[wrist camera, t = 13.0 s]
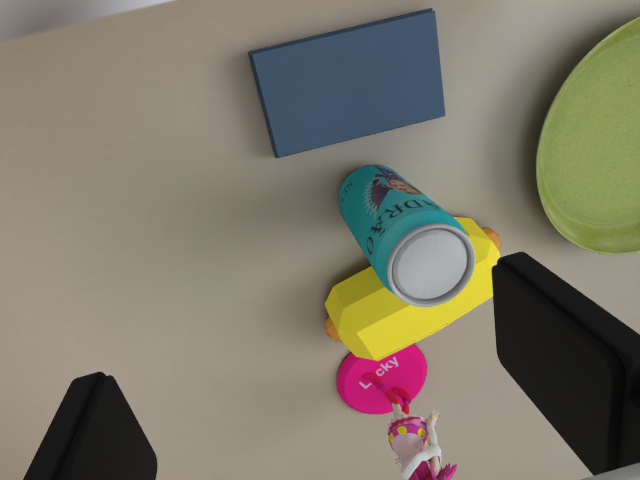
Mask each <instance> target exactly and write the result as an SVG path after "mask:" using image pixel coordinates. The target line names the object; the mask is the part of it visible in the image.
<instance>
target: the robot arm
mask: <svg viewBox="0 0 640 480" xmlns="http://www.w3.org/2000/svg"><path fill="white" fill-rule="evenodd" d="M492 287H493V302H494V317H495V332H496V348H497V355H498V358H499V360H500V362H501V364H502V366H503V367H504V368H505V369H506V371H507V372H508V373H509V374H510V375H511V377H512V378H513V379H514V380H515V381H516V383H517V384H518V385H519V386H520V387H521V389H522V390H523V391H524V392H525V393H526V395H527V396H528V397H529V398H530V399H531V401H532V402H533V403H534V404H535V405H536V407H537V408H538V409H539V410H540V411H541V413H542V414H543V415H544V416H545V418H546V419H547V420H548V421H549V422H550V424H551V425H552V426H553V427H554V428H555V430H556V431H557V432H558V433H559V434H560V436H561V437H562V438H563V439H564V440H565V442H566V443H567V444H568V445H569V446H570V448H571V449H572V450H573V451H574V452H575V454H576V455H577V456H578V457H579V458H580V460H581V461H582V462H583V463H584V464H585V466H586V467H587V468H588V469H589V471H590V472H591V473H592V474H593V475H594V476H592V477H588V478H585V479H582V480H640V335H639V334H638V333H637V332H635V331H634V330H632V329H631V328H630V327H628V326H627V325H625V324H624V323H623V322H621V321H620V320H618V319H617V318H616V317H614V316H613V315H611V314H610V313H609V312H607V311H606V310H604V309H603V308H602V307H600V306H599V305H597V304H596V303H595V302H593V301H592V300H590V299H589V298H588V297H586V296H585V295H583V294H582V293H581V292H579V291H578V290H576V289H575V288H574V287H572V286H571V285H569V284H568V283H567V282H565V281H564V280H562V279H561V278H560V277H558V276H557V275H556V274H554V273H553V272H551V271H550V270H549V269H547V268H546V267H544V266H543V265H542V264H540V263H539V262H537V261H536V260H535V259H533V258H532V257H530V256H529V255H528V254H526V253H524V252H518V253H514V254H511V255H507V256H504V257H500V258H499V259H498V261H497V265H494V266H493V267H492ZM156 474H157V458H156V455H155V452H154V451H153V449H152V447H151V445H150V443H149V441H148V439H147V438H146V436H145V434H144V432H143V430H142V428H141V426H140V425H139V423H138V421H137V419H136V417H135V415H134V414H133V412H132V410H131V408H130V406H129V404H128V402H127V401H126V399H125V397H124V395H123V393H122V391H121V389H120V388H119V386H118V384H117V382H116V380H115V379H114V377H113V376H110V375H109V376H106V375H105V374H104V373H103V372H97V373H93V374H90V375H86V376H83V377H79V378H76V379H74V380H73V381H72V382H71V384H70V386H69V388H68V390H67V392H66V394H65V396H64V398H63V400H62V402H61V404H60V406H59V408H58V410H57V412H56V414H55V416H54V418H53V420H52V422H51V424H50V426H49V429H48V431H47V433H46V435H45V437H44V439H43V441H42V443H41V445H40V447H39V449H38V451H37V453H36V455H35V457H34V459H33V461H32V463H31V465H30V467H29V469H28V471H27V473H26V475H25V477H24V479H23V480H155V479H156Z"/></svg>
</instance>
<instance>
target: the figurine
mask: <svg viewBox="0 0 640 480" xmlns="http://www.w3.org/2000/svg"><path fill="white" fill-rule="evenodd" d="M426 374H427V364H426V360H425V357H424V355H423V353H422V352H421V351H420V349H419V348H418V347H416V346H415V345H414V344H411V345H409V346H407V347H405V348H403V349H401V350H399V351H397V352H395V353H393V354H391V355H389V356H387V357H385V358H383V359H381V360H379V361H375V360H370V359H365V358H360V357H356V356H355V355H354V354H353V353H352V352H351V353H350V354H349V355H348V356H347V357H346V359H345V360H344V361H343V363H342V365H341V367H340V369H339V371H338V375H337V389H338V392H339V395H340V397H341V398H342V400H343V401H344V402H345V403H346V404H347V405H348V406H350V407H351V408H353V409H355V410H357V411H359V412H362V413H367V414H384V413H389V412H392V411H393V412H394V415H395V418H394V419H391V422H390V423H389V424H388V426H389V428H388V435H389V443H390V445H391V448H392V449H393V450H394V451H395V452H396V454H397V455H398V456H399V458H398V459H395V461H398V462H397V463H395V465H396V464H397V465H400V464H401V473H402V474H401V476H402V477H403V478H404V479H406V480H450V479H451V477H452V476H453V474H454V473H455V471H456V468H457V464H456V465H454V466H452V467H451V468H450V463H449V464H448V467H447V464H446V466H445V468H444V469H443V470H442V468H441V470H440V467H439V466H440V463H441V455H442V454H441V449H440V446H438V442H437V436H436V432H435V430H434V426H435V425H436V423H435V422H436V419H438V418H439V417H440V416H439V417H437V415H438V414H439V412H438V413H437V415H436V412H437V410H438V409H437V410H436V411H435V413H434V410H435V409H434V410H433V413H432V416H431V413H430V415H429V418H427V419H425V418H423V417H421V416H419V415H416V414H409V407H408V404H409V403H410V402H411V401H412V400H413V399H414V398H415V397H416V395H417V394H418V393H419V392H420V390H421V388H422V386H423V384H424V382H425V379H426ZM401 407H402V409H401ZM435 415H436V416H435ZM436 417H437V418H436ZM427 435H428V444H429V447H428V448H427V449H426V450H425V451H423V452H420V451H421V450H422V449H423V448H424V446H425V445H426V443H427ZM419 452H420V453H419ZM446 469H447V470H446Z"/></svg>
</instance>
